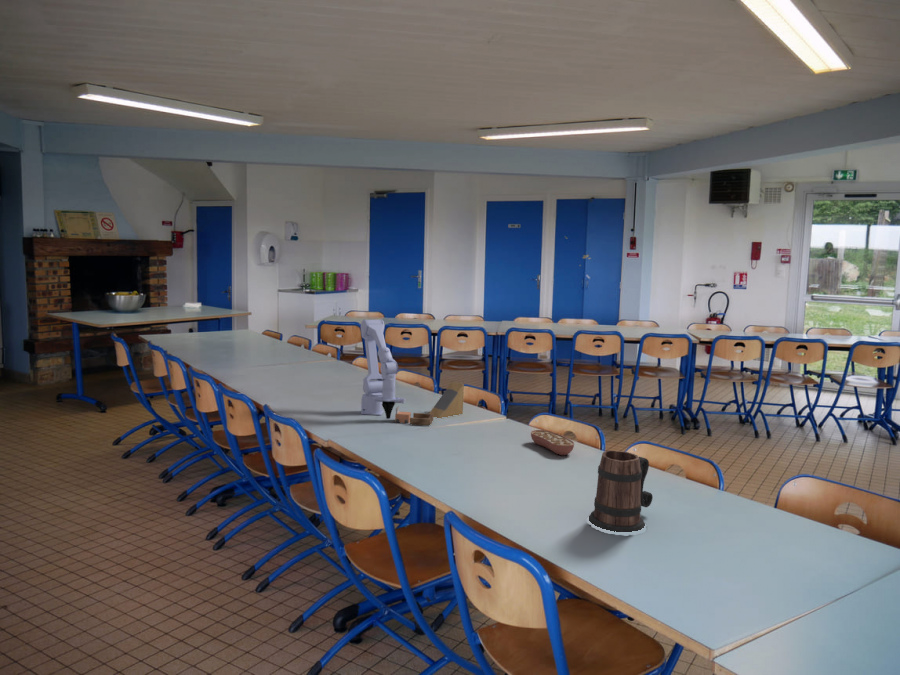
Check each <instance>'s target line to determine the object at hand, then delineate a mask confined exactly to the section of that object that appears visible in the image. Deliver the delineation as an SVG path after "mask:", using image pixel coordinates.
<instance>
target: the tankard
mask: <svg viewBox="0 0 900 675" xmlns="http://www.w3.org/2000/svg"><path fill="white" fill-rule="evenodd" d="M649 465H650V461H649V459H648V458H646V457H643V456H639V455H637V454H635V453H632V452H628V451H620V450H619V451H618V450H605V451H603V452H602V454H601V458H600V463H599V465H598V467H597V474H598V475H597V485H596V494H595V495H596V496H595V497H594V502H593V504H594V510H593V511H592V512H591V511H590V512H591V513H590V514H589V515H588V516H589V521H590V522H591V523H592V524H594V525H595V526H597V527H600V528H602V529H606V530H610V531H614V532H615V531H616V532H632V531H638V530H641V529H642V528H644V526H645V524H646V522H645V521H644V519H643V517H641V513H642V507H643V508H648V507H649V506H651V504H652V503H653V494H652V493H651V492H649V491H646V490H644V484H645V481H646V480H645V479H646V477H647V474H648V473H649V467H650V466H649Z"/></svg>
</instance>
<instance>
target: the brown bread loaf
mask: <svg viewBox="0 0 900 675" xmlns="http://www.w3.org/2000/svg"><path fill="white" fill-rule="evenodd" d="M530 437H531V440H532V441H533V443H535V444H536V445H539V446H540V447H544V448H546V449H548V450H550V451H551V452H553V453H555V454H557V455H558V454H559V456H566V455H569V454H570V453H572V451H573V449H574V448H575V442H574V441H573V440H572V439H569V438H568V437H566V436H563V435H562V434H559V433H556V432H553V431H551V430H545V429H536V430H535V429H534V430H531V432H530Z"/></svg>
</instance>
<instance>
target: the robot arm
mask: <svg viewBox="0 0 900 675" xmlns="http://www.w3.org/2000/svg"><path fill="white" fill-rule="evenodd" d="M360 323H361V324H360V334H361V338H362V339H364V346H365V354H366V364H367V371H368V372H367V373H368V374H367V375H366V376H364V378H363V379H362V380H363V383H362V392H363V394H362V395H361V411H360V415H368V416H369V415H370V416H371V415H372V416H382V414H383V413H384V414H385V418H386V419H387V420H389V419H391V416H392V411H393V408H394V406H395V404H405V403H406V398H405V397H404V398H402V397H396V377H397V376H396V375H397V374H398V372H399V365H398V362H397V361H396V360H395V359H394V358H393V354H392V352H391V349H390V348H389V347H387V344H386V340H385V336H384V332H385V328H386V327H385V322H384V320H383V319H382V318H380V319H362V321H361V322H360ZM377 348H378V350H377ZM378 359H379V361H378ZM379 362H380V370H379Z"/></svg>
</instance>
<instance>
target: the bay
mask: <svg viewBox="0 0 900 675" xmlns="http://www.w3.org/2000/svg"><path fill="white" fill-rule="evenodd" d="M412 415H413V416H412V417H411V418H410V422H409V425H410V424H412V425H411V426H422V425H430V424H431V425H432V423H433V422H434V417H433V414H429V413H423V412H413V414H412ZM432 421H433V422H432ZM431 425H430V426H431Z"/></svg>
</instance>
